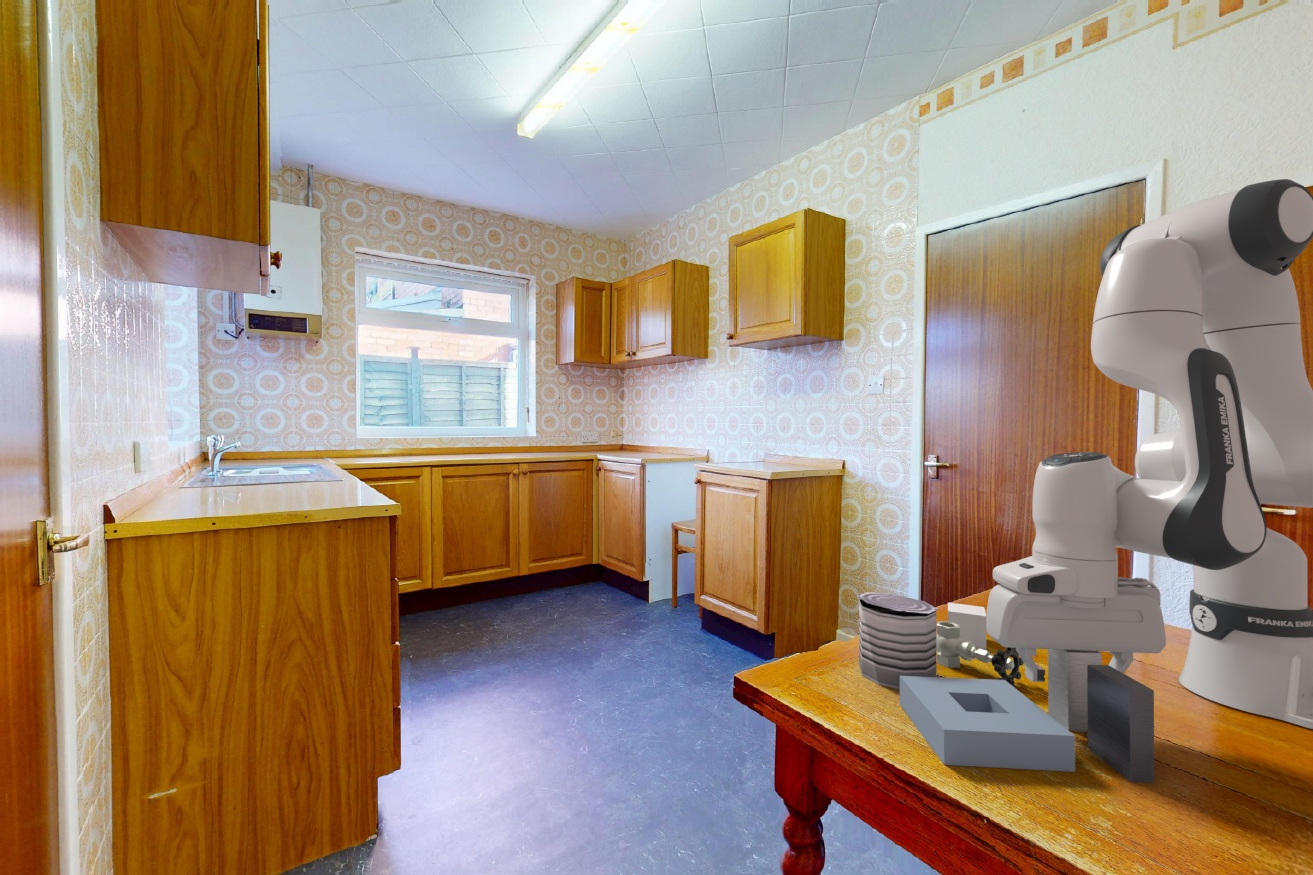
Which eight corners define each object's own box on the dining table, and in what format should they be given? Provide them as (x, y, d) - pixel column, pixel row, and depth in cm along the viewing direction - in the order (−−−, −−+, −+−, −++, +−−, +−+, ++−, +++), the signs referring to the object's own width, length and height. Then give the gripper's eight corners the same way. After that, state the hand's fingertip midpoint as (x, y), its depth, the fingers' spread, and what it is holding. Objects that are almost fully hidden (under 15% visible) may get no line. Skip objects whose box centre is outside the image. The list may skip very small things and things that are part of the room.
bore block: (1005, 709, 74) (1005, 679, 74) (1075, 771, 60) (1075, 735, 60) (899, 704, 75) (899, 675, 75) (944, 764, 61) (944, 729, 61)
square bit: (1079, 716, 72) (1079, 641, 72) (1101, 732, 68) (1101, 653, 68) (1048, 714, 72) (1048, 640, 72) (1068, 730, 68) (1068, 652, 68)
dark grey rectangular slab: (1108, 748, 64) (1108, 665, 64) (1154, 783, 58) (1153, 690, 58) (1087, 747, 64) (1087, 664, 64) (1130, 781, 58) (1129, 689, 58)
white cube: (986, 650, 95) (986, 616, 95) (948, 643, 98) (947, 611, 98) (984, 638, 100) (984, 606, 100) (947, 633, 103) (947, 602, 103)
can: (846, 660, 90) (846, 589, 90) (911, 658, 91) (911, 588, 91) (879, 692, 78) (879, 610, 78) (953, 690, 79) (953, 609, 79)
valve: (924, 663, 89) (1001, 693, 78) (924, 623, 89) (1000, 648, 79) (948, 655, 92) (1024, 682, 82) (947, 617, 92) (1024, 639, 82)
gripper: (1139, 572, 72) (1139, 675, 72) (980, 568, 74) (980, 668, 74) (1180, 584, 66) (1180, 697, 66) (1005, 579, 68) (1005, 689, 68)
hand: (1073, 681), depth 70 cm, fingers open, 8 cm apart
